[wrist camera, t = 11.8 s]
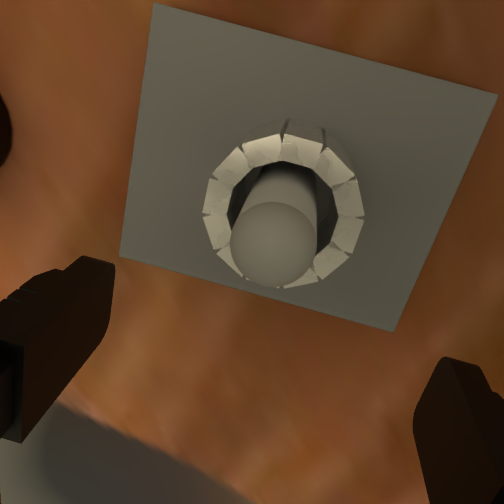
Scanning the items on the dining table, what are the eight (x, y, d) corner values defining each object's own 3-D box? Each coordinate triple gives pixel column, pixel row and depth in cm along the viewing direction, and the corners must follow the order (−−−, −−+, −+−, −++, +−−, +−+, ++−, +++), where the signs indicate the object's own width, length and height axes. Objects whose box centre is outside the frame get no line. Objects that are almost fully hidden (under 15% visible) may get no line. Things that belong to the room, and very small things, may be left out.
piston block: (483, 91, 22) (634, 122, 12) (388, 314, 28) (433, 472, 17) (166, 6, 23) (38, -38, 12) (131, 242, 28) (21, 355, 17)
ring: (371, 139, 22) (386, 161, 17) (330, 257, 25) (333, 303, 20) (241, 104, 22) (222, 116, 17) (214, 225, 25) (191, 264, 20)
